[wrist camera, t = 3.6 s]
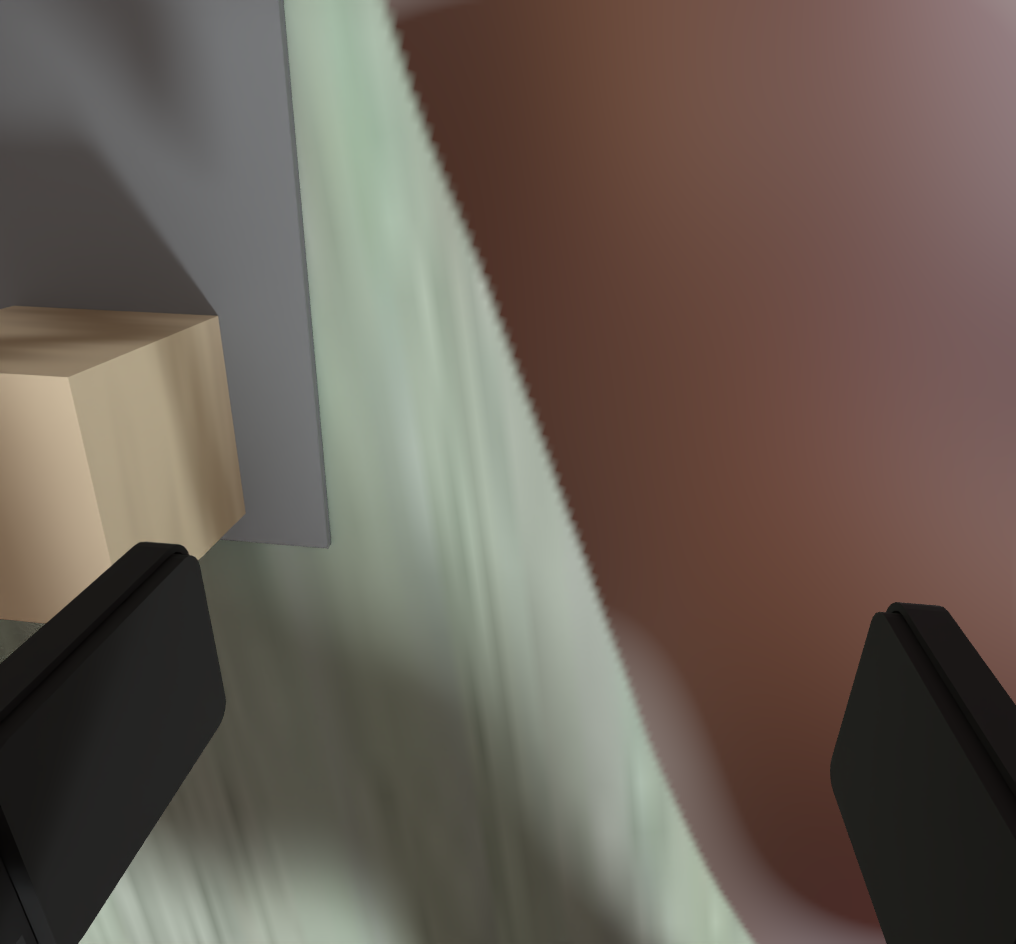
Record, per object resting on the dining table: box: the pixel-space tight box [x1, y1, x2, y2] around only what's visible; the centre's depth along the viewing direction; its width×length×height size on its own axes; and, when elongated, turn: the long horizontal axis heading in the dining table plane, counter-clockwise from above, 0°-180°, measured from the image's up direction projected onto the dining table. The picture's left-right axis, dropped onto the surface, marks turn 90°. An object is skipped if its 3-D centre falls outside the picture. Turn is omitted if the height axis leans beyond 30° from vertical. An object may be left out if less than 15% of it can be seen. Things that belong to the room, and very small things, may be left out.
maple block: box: [0, 306, 246, 623], centre depth 18 cm, size 6×6×6 cm
